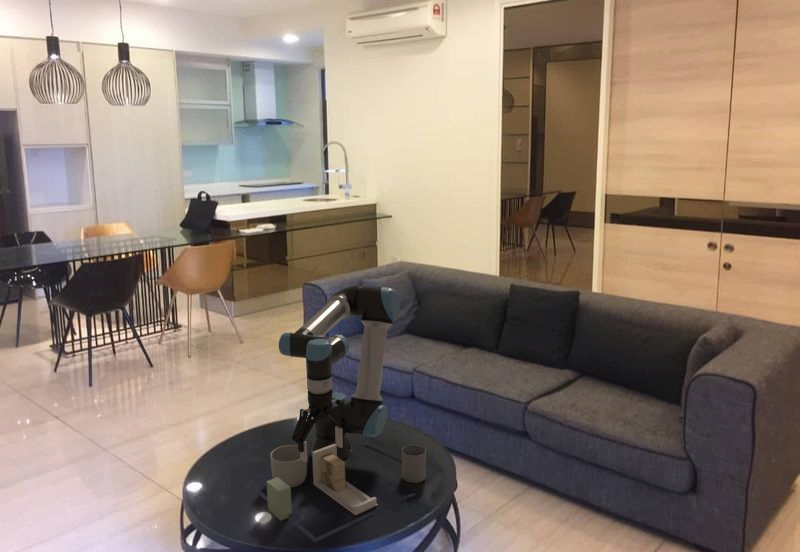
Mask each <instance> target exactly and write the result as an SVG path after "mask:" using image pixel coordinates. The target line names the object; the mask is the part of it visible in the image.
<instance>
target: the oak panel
mask: <svg viewBox="0 0 800 552" xmlns="http://www.w3.org/2000/svg"><path fill="white" fill-rule="evenodd" d="M321 464H322V483H324V484H325V485H326V486H328V487H329V488H330V489H332V490H333V491H335V492H336V493H337V492H340V491H342V490H344V489H345V481H346V462H345V460H344V459H343V460H341V459H340V458H338V457H337V456H335V455H334V454H332V453H330V454H327V455H324V456H322V457H321Z"/></svg>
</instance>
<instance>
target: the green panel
mask: <svg viewBox="0 0 800 552" xmlns="http://www.w3.org/2000/svg"><path fill="white" fill-rule="evenodd" d="M291 488H292V487H290V486H288V485H287V484H286V483H285V482H283V481H282V480H281V479H279V478H278V477H277V478H274V479H273V478H271V479H269V480H267V481H266V493H267V494H266V496H267V498H266V499H267V511H269V512H270V513H271V514H272V515H274V516H275V517H276V518H277V519H278V520H279V522H280V521H283V520H286V519H288V518H290V517H292V515H291V514H292V513H293V512H292V511H293V510H292V489H291Z"/></svg>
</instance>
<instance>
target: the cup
mask: <svg viewBox="0 0 800 552" xmlns="http://www.w3.org/2000/svg"><path fill="white" fill-rule="evenodd" d="M426 477H427V449H426V447H424V446H422V445H419V444H408V445H406V446H403V447H402V449H401V478H402V480H403V481H405V482H407V483H411V484H415V483H416V484H417V483H421V482H424V480H426Z"/></svg>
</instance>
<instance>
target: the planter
mask: <svg viewBox="0 0 800 552" xmlns="http://www.w3.org/2000/svg"><path fill="white" fill-rule="evenodd" d="M269 456H270V459H269V460H270V468H271V469H270V470H271V476H272V479H274V478H277V477H278V478H279V479H281V480H282V481H283V482H285V483H286V484H287V485H288V486H290V487H291V488H296V487H298V486H300V485H302V484H303V483H304V482H305V480H306V479H307V473H308V461H307V462H304V461H302V460H301V459H300V451H298V444H286V445H281V446H279V447H278V446H277V447H276V448H274V449H273V450H272V451H271V452H270V454H269Z"/></svg>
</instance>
